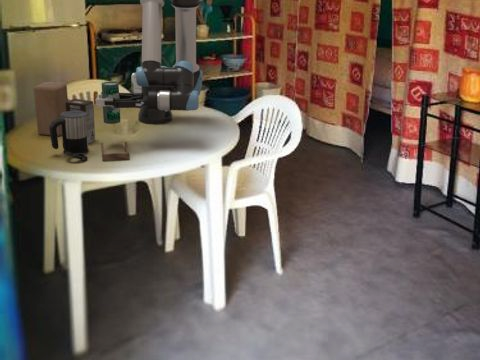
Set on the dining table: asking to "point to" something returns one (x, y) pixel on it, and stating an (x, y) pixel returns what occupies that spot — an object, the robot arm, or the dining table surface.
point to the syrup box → (135, 84)
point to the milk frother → (71, 133)
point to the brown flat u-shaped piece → (115, 154)
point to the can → (110, 112)
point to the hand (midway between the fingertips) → (97, 100)
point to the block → (49, 105)
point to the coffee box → (89, 109)
